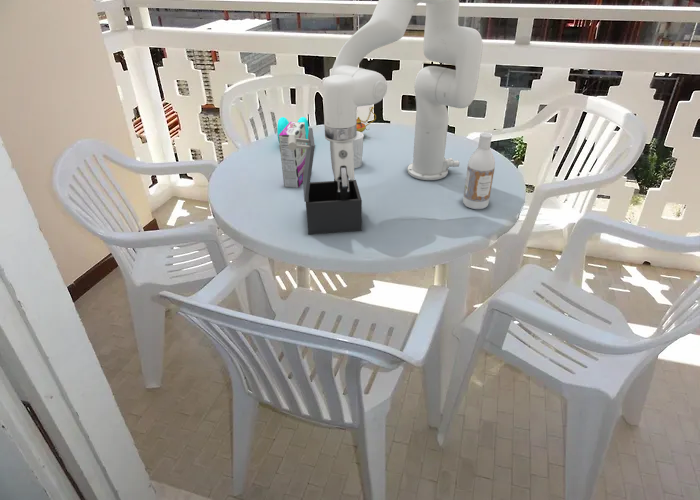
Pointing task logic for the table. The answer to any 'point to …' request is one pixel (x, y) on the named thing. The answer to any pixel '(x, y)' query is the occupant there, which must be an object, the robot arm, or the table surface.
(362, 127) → the magic lamp
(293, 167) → the candy bar box
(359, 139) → the white cup
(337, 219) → the dark grey storage bin
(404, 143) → the table surface
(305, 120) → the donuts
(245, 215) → the table surface
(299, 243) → the table surface
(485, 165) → the bath foam
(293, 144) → the brewer lid
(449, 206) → the table surface
